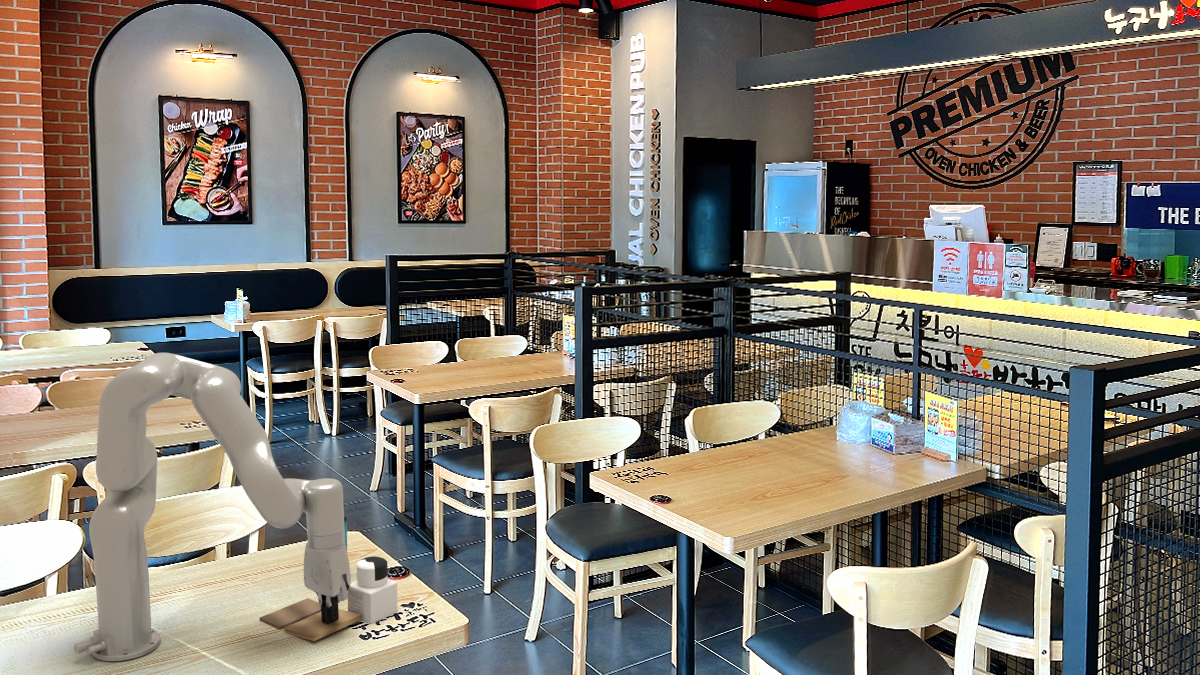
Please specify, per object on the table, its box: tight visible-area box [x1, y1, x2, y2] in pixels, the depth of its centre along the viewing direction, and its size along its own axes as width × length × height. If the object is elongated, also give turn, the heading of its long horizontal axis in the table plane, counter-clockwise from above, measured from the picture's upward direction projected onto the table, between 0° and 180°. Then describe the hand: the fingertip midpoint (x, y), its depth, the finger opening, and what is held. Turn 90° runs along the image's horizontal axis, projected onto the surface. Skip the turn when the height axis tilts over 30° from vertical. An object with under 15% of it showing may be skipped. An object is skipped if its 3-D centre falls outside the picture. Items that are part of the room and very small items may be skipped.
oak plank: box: [283, 608, 362, 642], centre depth 204 cm, size 13×10×1 cm
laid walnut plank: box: [258, 597, 322, 630], centre depth 206 cm, size 13×18×1 cm
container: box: [347, 556, 398, 625], centre depth 210 cm, size 8×8×13 cm
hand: (330, 621), depth 204 cm, fingers closed
